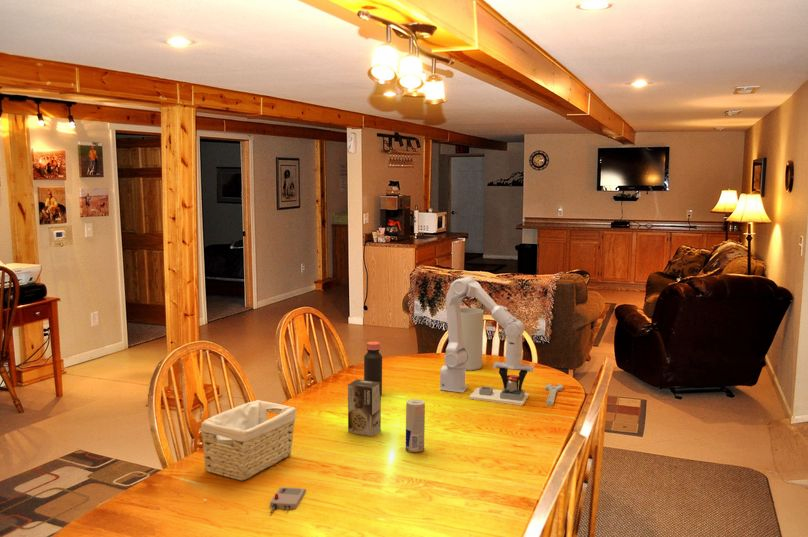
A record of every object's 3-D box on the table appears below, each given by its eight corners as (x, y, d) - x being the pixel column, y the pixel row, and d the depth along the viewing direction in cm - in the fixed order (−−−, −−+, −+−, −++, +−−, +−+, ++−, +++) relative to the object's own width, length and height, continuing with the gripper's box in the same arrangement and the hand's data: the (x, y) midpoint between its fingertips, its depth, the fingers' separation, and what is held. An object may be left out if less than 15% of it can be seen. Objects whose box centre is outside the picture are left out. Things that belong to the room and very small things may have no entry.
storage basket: (255, 444, 210) (255, 397, 208) (299, 454, 203) (298, 406, 201) (198, 473, 189) (197, 421, 187) (244, 486, 182) (244, 432, 180)
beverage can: (426, 447, 209) (427, 399, 207) (420, 454, 204) (421, 405, 202) (409, 444, 211) (409, 397, 209) (403, 451, 206) (403, 403, 204)
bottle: (385, 395, 258) (385, 343, 256) (369, 398, 255) (370, 346, 252) (375, 391, 264) (376, 340, 261) (360, 394, 260) (360, 342, 258)
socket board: (469, 399, 256) (469, 391, 255) (476, 390, 267) (477, 382, 267) (522, 405, 249) (523, 397, 249) (528, 396, 260) (528, 388, 260)
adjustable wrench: (553, 407, 249) (553, 403, 249) (535, 405, 251) (535, 400, 251) (563, 388, 272) (564, 384, 272) (547, 386, 274) (547, 382, 274)
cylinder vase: (451, 369, 295) (453, 312, 292) (454, 362, 307) (455, 307, 304) (481, 371, 293) (482, 313, 290) (482, 363, 305) (484, 308, 302)
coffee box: (381, 430, 223) (381, 382, 221) (372, 437, 217) (372, 387, 215) (356, 426, 226) (357, 378, 224) (347, 432, 221) (347, 383, 219)
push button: (502, 395, 255) (504, 376, 254) (507, 392, 259) (508, 374, 258) (515, 397, 252) (517, 379, 251) (520, 394, 257) (521, 376, 256)
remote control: (307, 489, 181) (307, 478, 181) (291, 518, 165) (291, 506, 165) (283, 487, 182) (283, 476, 181) (265, 516, 166) (264, 504, 166)
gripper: (492, 353, 253) (491, 389, 255) (531, 357, 248) (530, 394, 250) (496, 349, 259) (495, 384, 261) (535, 353, 254) (533, 388, 256)
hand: (512, 388), depth 256 cm, fingers open, 5 cm apart
